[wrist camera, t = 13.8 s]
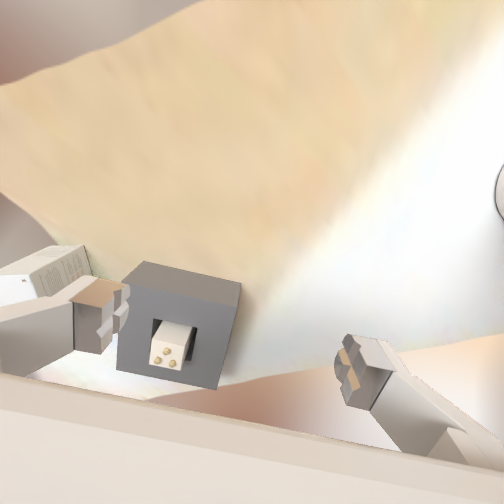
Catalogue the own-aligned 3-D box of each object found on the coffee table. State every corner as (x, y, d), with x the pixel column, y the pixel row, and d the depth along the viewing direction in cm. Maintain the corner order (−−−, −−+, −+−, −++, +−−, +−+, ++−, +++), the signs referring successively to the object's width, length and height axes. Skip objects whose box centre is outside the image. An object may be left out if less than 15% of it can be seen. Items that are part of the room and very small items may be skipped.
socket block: (241, 283, 42) (237, 307, 35) (222, 357, 47) (216, 390, 41) (143, 261, 41) (121, 281, 34) (136, 339, 47) (116, 369, 40)
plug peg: (201, 304, 44) (183, 349, 34) (197, 325, 45) (178, 374, 35) (175, 299, 43) (150, 342, 33) (172, 320, 45) (147, 367, 35)
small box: (50, 244, 40) (-17, 274, 31) (84, 244, 40) (27, 273, 30) (65, 289, 43) (7, 329, 34) (97, 289, 43) (49, 329, 33)
